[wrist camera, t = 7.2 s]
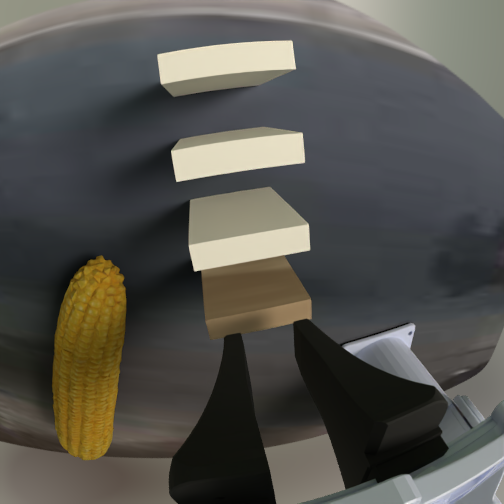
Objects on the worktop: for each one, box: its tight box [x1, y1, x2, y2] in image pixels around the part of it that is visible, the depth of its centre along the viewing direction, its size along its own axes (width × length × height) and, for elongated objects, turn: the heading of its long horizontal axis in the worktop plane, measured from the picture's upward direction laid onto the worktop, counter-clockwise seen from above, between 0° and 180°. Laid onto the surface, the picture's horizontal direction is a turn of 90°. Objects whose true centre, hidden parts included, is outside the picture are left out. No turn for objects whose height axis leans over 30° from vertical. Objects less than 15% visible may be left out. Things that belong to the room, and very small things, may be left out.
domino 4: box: [201, 255, 311, 340], centre depth 18 cm, size 1×5×7 cm, turn 97°
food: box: [52, 256, 126, 460], centre depth 20 cm, size 21×6×6 cm, turn 159°
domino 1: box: [158, 41, 296, 97], centre depth 13 cm, size 1×5×7 cm, turn 96°
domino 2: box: [171, 127, 305, 182], centre depth 15 cm, size 1×5×7 cm, turn 97°
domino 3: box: [189, 187, 310, 271], centre depth 16 cm, size 1×5×7 cm, turn 97°
